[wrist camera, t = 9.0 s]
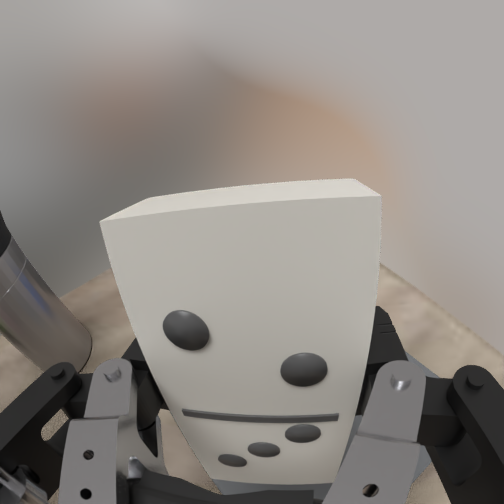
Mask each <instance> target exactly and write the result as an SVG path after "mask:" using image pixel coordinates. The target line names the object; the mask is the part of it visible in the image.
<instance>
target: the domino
mask: <svg viewBox="0 0 504 504" xmlns="http://www.w3.org/2000/svg"><path fill="white" fill-rule="evenodd" d="M381 216H382V196H381V195H379V194H378V193H376V192H374V191H373V190H371V189H369V188H368V187H367V186H365V185H363V184H362V183H360V182H358V181H357V180H355V179H329V180H309V181H294V182H279V183H266V184H255V185H245V186H235V187H226V188H217V189H209V190H201V191H192V192H185V193H178V194H171V195H164V196H157V197H151V198H147V199H145V200H143V201H141V202H139V203H136V204H134V205H132V206H130V207H128V208H126V209H124V210H122V211H120V212H117V213H115V214H113V215H111V216H109V217H107V218H105V219H103V220H101V221H100V226H101V230H102V234H103V237H104V241H105V245H106V249H107V253H108V256H109V260H110V263H111V267H112V270H113V273H114V277H115V280H116V283H117V286H118V289H119V292H120V295H121V298H122V301H123V304H124V307H125V309H126V312H127V315H128V318H129V320H130V323H131V326H132V328H133V331H134V333H135V336H136V338H137V341H138V343H139V346H140V348H141V350H142V353H143V355H144V357H145V360H146V362H147V364H148V366H149V369H150V371H151V373H152V375H153V377H154V380H155V382H156V384H157V386H158V388H159V390H160V392H161V394H162V396H163V398H164V400H165V402H166V404H167V406H168V408H169V410H170V412H171V413H172V415H173V417H174V419H175V421H176V423H177V424H178V426H179V428H180V430H181V432H182V433H183V435H184V437H185V439H186V440H187V442H188V444H189V445H190V447H191V449H192V450H193V452H194V453H195V455H196V457H197V458H198V460H199V461H200V463H201V465H202V466H203V468H204V469H205V471H206V472H207V474H208V475H209V477H210V478H211V479H218V480H226V481H234V482H244V483H258V484H287V485H293V484H322V483H333V482H334V480H335V478H336V476H337V473H338V470H339V467H340V464H341V461H342V458H343V455H344V452H345V449H346V446H347V442H348V439H349V436H350V432H351V429H352V425H353V421H354V417H355V414H356V410H357V406H358V402H359V397H360V393H361V389H362V384H363V380H364V375H365V370H366V365H367V359H368V354H369V348H370V342H371V336H372V329H373V322H374V314H375V306H376V298H377V288H378V277H379V264H380V247H381V219H382V217H381Z"/></svg>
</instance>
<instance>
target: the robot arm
mask: <svg viewBox="0 0 504 504" xmlns="http://www.w3.org/2000/svg"><path fill="white" fill-rule="evenodd" d="M0 333H1V334H2V335H3V336H4V337H5V338H6V339H7V340H8V341H9V342H10V343H11V344H12V345H13V346H15V347H16V348H17V349H18V350H19V351H20V352H21V353H22V354H23V355H25V356H26V357H27V358H28V359H29V360H30V361H32V362H33V363H34V364H35V365H36V366H38V367H39V368H40V369H41V370H43V371H44V373H43V374H42V375H41V376H40V377H39V378H38V379H36V380H35V381H34V382H33V383H32V384H31V385H30V386H29V387H28V388H27V389H26V390H25V391H23V392H22V393H21V394H20V395H19V396H18V397H17V398H16V399H15V400H14V401H13V402H12V403H11V404H10V405H9V406H8V407H7V408H5V409H4V410H3V411H2V412H1V413H0V504H51V503H50V502H48V500H49V499H50V498H51V496H52V495H53V494H54V493H55V492H56V490H57V489H58V488H59V497H58V504H405V502H406V499H407V496H408V493H409V490H410V486H411V483H412V480H413V476H414V472H415V469H416V465H417V461H418V457H419V452H420V445H424V446H425V448H426V450H427V452H428V454H429V456H430V458H431V460H432V462H433V465H434V467H435V469H436V471H437V473H438V475H439V477H440V480H441V482H442V484H443V486H444V488H445V491H446V493H447V495H448V497H449V500H450V502H451V504H504V389H503V388H502V387H501V386H500V385H499V383H498V382H497V381H496V380H495V378H494V377H493V376H492V375H491V374H490V373H489V372H488V371H487V370H486V369H484V368H482V367H480V366H476V365H467V366H464V367H462V368H460V369H459V370H457V372H456V373H455V375H454V377H453V379H447V378H433V377H428V376H425V373H424V372H423V370H422V369H421V368H420V367H419V366H418V365H416V364H414V363H412V362H409V361H408V358H407V356H406V353H405V351H404V349H403V346H402V344H401V342H400V339H399V337H398V335H397V333H396V330H395V328H394V326H393V325H392V321H391V319H390V317H389V315H388V313H387V312H385V311H384V310H383V309H382V308H381V307H379V306H375V314H374V322H373V329H372V336H371V342H370V348H369V354H368V359H367V365H366V370H365V375H364V380H363V384H362V389H361V393H360V397H359V402H358V406H357V410H356V414H355V416H358V415H362V420H361V423H360V426H359V428H358V431H357V432H356V434H355V436H354V438H353V440H352V443H351V445H350V447H349V450H348V452H347V454H346V457H345V459H344V461H343V463H342V465H341V467H340V470H339V472H338V474H337V476H336V478H335V480H334V482H333V484H332V486H331V488H330V490H329V491H328V493H327V495H326V497H325V499H324V500H322V499H316V498H314V490H264V491H258V492H250V493H242V494H232V495H219V494H216V493H213V492H211V491H208V490H206V489H203V488H201V487H199V486H196V485H194V484H192V483H189V482H187V481H185V480H183V479H181V478H176V477H172V476H169V474H168V472H167V470H166V467H165V464H164V458H163V448H162V436H161V422H160V418H159V416H158V413H159V411H160V408H161V409H166V410H169V408H168V406H167V404H166V402H165V400H164V398H163V396H162V394H161V392H160V390H159V388H158V386H157V384H156V382H155V380H154V377H153V375H152V373H151V371H150V369H149V366H148V364H147V362H146V360H145V357H144V355H143V353H142V350H141V348H140V346H139V343H138V341H137V338H135V339H134V341H133V342H132V344H131V345H130V346H129V348H128V349H127V351H126V352H125V353H124V355H123V356H122V357H121V358H114V359H110V360H107V361H105V362H103V363H102V364H100V365H99V366H98V367H97V368H96V369H95V371H94V373H90V374H78V372H79V371H80V370H81V369H82V367H83V366H84V364H85V363H86V361H87V359H88V357H89V354H90V351H91V336H90V334H89V332H88V331H87V329H86V328H85V327H84V326H83V325H82V324H81V323H80V322H79V321H78V320H77V319H76V318H75V317H74V316H73V314H72V313H71V312H70V311H69V310H68V309H67V308H66V306H65V305H64V304H63V303H62V302H61V301H60V299H59V298H58V297H57V296H56V295H55V293H54V292H53V291H52V290H51V289H50V287H49V286H48V285H47V284H46V282H45V281H44V280H43V278H42V277H41V276H40V275H39V273H38V272H37V271H36V269H35V268H34V267H33V265H32V264H31V263H30V261H29V260H28V259H27V257H26V256H25V254H24V253H23V251H22V250H21V248H20V247H19V246H18V244H17V243H16V241H15V239H14V238H13V236H12V235H11V233H10V232H9V230H8V229H7V227H6V225H5V222H4V220H3V217H2V214H1V211H0ZM60 409H62V410H63V412H64V413H65V414H66V415H67V417H68V418H69V419H68V420H67V421H66V422H65V423H64V424H63V426H62V427H61V428H60V429H59V430H58V431H57V432H56V433H55V434H54V435H53V436H52V438H51V439H49V440H48V441H44V440H43V439H42V437H41V429H42V427H43V426H44V425H45V424H46V423H47V422H48V421H49V420H50V419H51V418H52V417H53V416H54V415H55V414H56V413H57V412H58V411H59V410H60Z"/></svg>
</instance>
